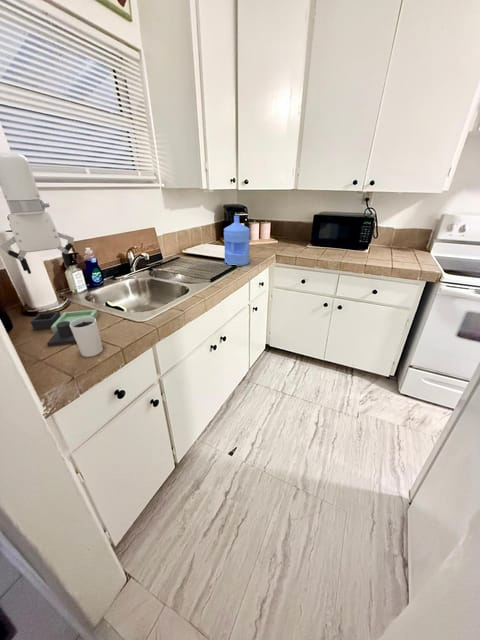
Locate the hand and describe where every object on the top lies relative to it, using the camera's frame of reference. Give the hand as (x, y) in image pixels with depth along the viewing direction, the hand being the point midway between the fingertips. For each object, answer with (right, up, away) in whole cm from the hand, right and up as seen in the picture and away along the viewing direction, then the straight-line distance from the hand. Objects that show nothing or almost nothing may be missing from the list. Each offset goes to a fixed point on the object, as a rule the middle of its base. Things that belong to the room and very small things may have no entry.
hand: (49, 269), depth 78 cm
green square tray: (-2, -16, +17) cm, 23 cm away
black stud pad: (+1, -21, +8) cm, 22 cm away
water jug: (+55, +21, +86) cm, 105 cm away
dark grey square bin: (-11, -17, +15) cm, 26 cm away
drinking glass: (+12, -25, +1) cm, 28 cm away
